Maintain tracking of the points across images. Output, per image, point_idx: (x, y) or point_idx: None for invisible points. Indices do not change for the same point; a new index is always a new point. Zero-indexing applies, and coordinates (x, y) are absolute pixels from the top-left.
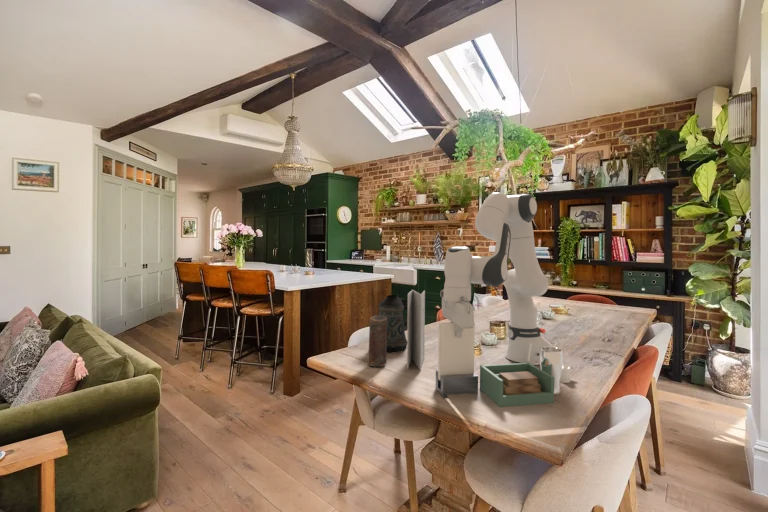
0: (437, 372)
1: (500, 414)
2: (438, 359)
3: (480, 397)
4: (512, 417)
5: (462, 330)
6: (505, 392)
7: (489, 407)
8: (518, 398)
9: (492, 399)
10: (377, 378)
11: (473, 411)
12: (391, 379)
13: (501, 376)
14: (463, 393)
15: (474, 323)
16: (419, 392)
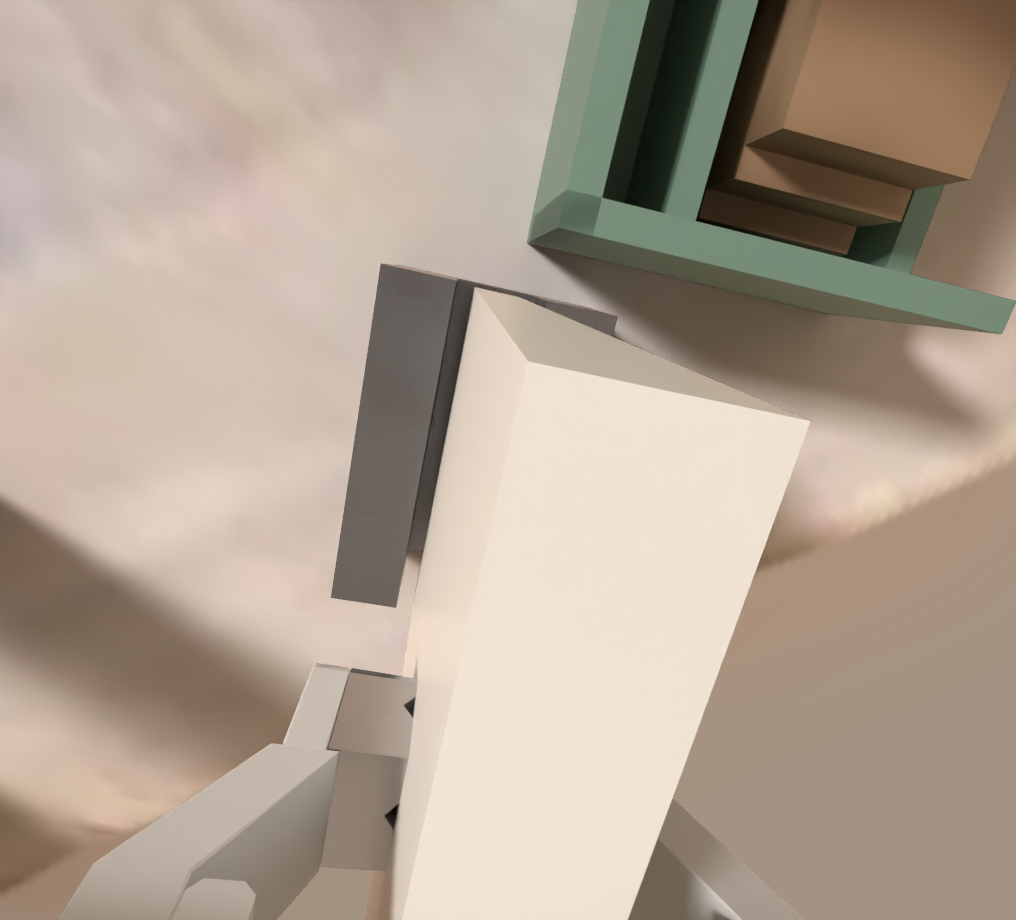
0: (382, 602)
1: (873, 349)
2: None
3: (614, 307)
4: None
5: (713, 843)
6: (872, 224)
7: (767, 351)
8: None
9: (745, 292)
10: (67, 797)
11: None
12: (106, 726)
13: (819, 145)
14: None
15: (784, 426)
16: (384, 646)
